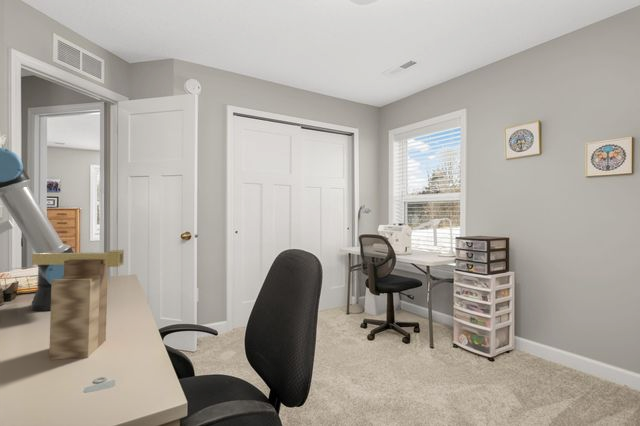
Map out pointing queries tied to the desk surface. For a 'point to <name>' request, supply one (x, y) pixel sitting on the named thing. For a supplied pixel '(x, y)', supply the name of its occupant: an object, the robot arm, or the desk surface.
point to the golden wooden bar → (79, 258)
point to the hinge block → (78, 309)
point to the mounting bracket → (100, 385)
